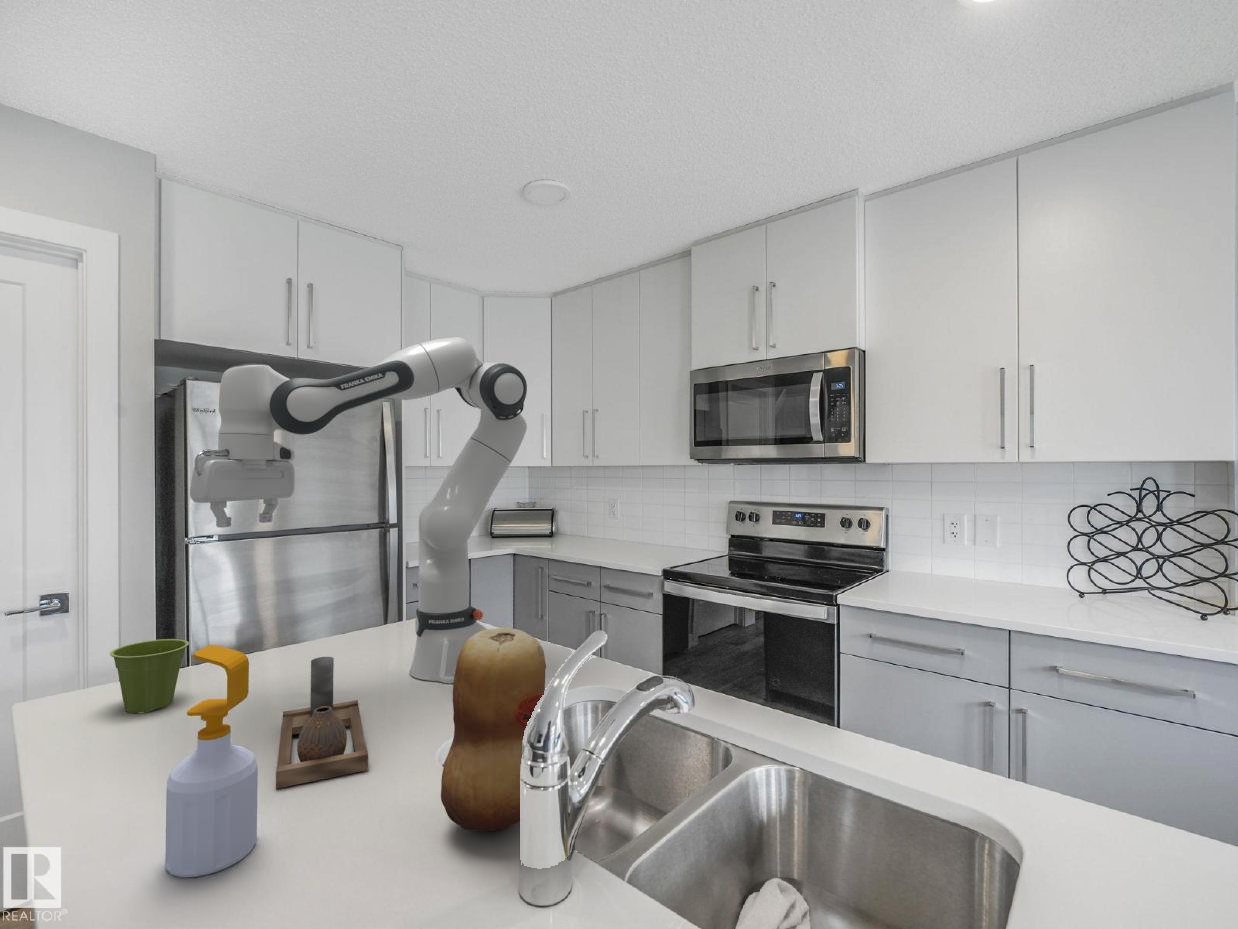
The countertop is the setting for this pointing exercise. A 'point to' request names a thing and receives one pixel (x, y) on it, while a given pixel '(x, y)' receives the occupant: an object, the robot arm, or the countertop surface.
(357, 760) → the strip frame
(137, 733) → the countertop surface
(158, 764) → the countertop surface
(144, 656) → the plant pot
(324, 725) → the vase
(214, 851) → the soap bottle
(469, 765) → the butternut squash
